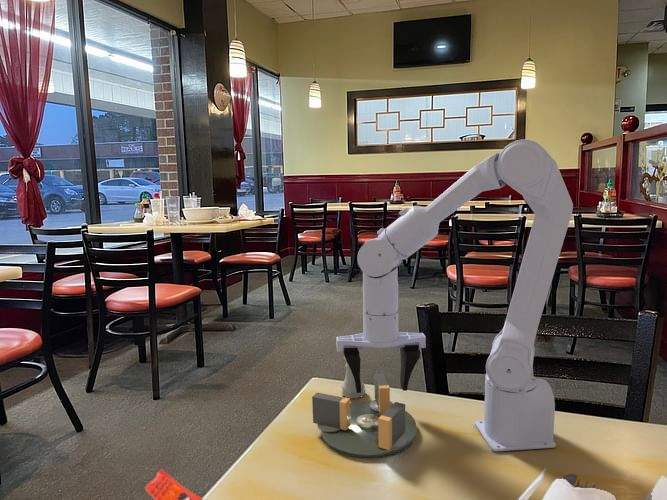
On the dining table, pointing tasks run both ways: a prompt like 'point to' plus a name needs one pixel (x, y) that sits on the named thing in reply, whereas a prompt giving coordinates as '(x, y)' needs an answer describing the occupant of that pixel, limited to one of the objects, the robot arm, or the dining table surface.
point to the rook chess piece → (351, 384)
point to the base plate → (366, 434)
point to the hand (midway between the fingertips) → (381, 389)
